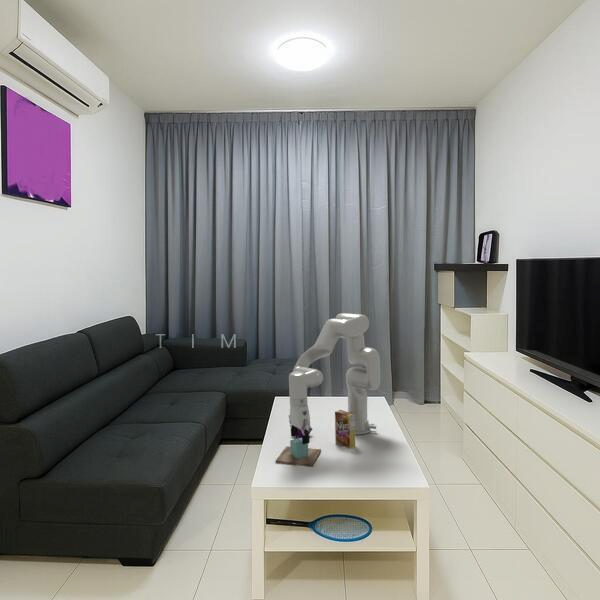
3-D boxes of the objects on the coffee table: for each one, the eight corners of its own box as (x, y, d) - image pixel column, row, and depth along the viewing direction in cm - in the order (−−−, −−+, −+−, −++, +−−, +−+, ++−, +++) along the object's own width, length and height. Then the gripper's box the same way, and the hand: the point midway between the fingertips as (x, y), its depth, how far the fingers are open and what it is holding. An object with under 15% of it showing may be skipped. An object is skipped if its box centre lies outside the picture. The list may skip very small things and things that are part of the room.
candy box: (334, 443, 212) (334, 411, 211) (340, 441, 215) (340, 409, 214) (349, 448, 206) (349, 415, 205) (355, 446, 209) (355, 413, 208)
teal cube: (301, 451, 201) (301, 437, 201) (308, 455, 196) (308, 441, 196) (290, 453, 198) (290, 439, 198) (296, 458, 194) (296, 443, 193)
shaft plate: (321, 451, 203) (321, 441, 203) (312, 466, 188) (312, 456, 187) (286, 448, 207) (286, 438, 207) (275, 463, 192) (275, 452, 191)
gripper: (316, 404, 190) (318, 444, 192) (296, 394, 205) (297, 431, 207) (301, 408, 186) (302, 448, 188) (281, 397, 201) (282, 435, 203)
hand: (300, 439), depth 197 cm, fingers open, 9 cm apart
